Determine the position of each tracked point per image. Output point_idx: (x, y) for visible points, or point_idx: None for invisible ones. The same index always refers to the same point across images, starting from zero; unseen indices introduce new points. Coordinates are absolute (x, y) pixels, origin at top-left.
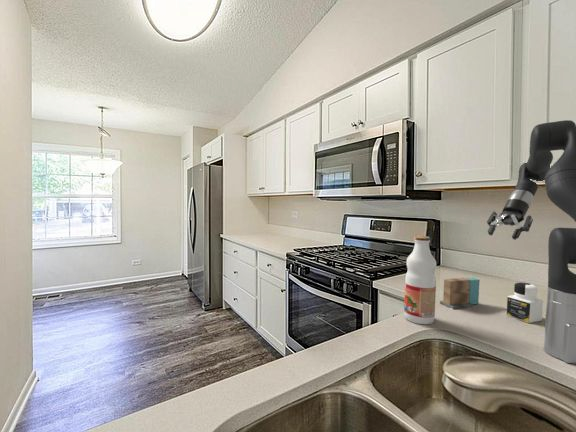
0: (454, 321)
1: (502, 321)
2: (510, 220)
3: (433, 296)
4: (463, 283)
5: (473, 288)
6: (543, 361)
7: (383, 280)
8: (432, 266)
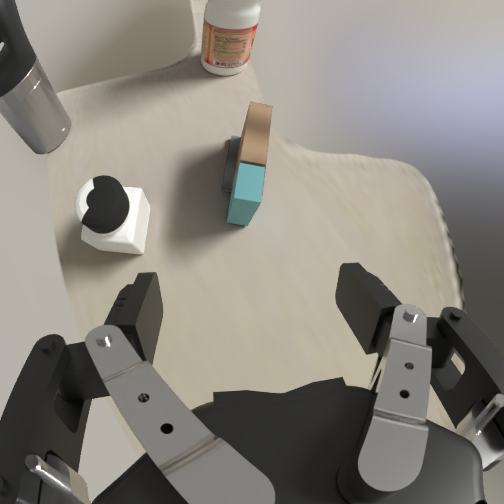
0: (188, 93)
1: (140, 165)
2: (248, 426)
3: (203, 29)
4: (242, 143)
5: (234, 186)
6: (69, 95)
7: (426, 188)
8: None
